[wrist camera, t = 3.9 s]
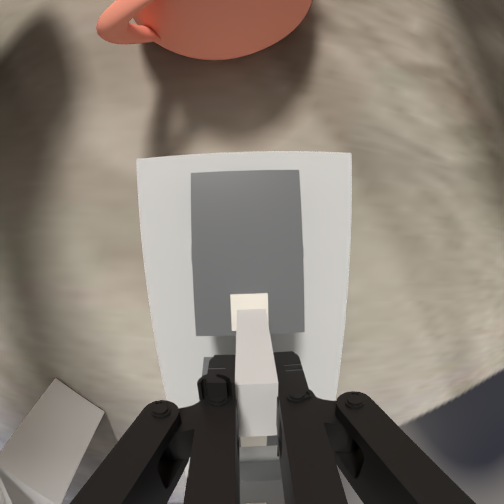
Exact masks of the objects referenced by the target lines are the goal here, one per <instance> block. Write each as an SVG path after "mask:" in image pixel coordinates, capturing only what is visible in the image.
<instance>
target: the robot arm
mask: <svg viewBox="0 0 504 504" xmlns="http://www.w3.org/2000/svg"><path fill="white" fill-rule="evenodd" d="M197 387H198V394H199V402H198V403H196V404H194V405H192V406H188V407H183V408H178V406H177V405H176V404H175V403H173V402H170V401H164V400H160V401H155V402H152V403H150V404H148V405H147V406H146V407H145V408H144V409H143V410H142V412H141V413H140V414H139V416H138V417H137V418H136V420H135V421H134V422H133V423H132V425H131V426H130V427H129V429H128V430H127V431H126V432H125V434H124V435H123V436H122V438H121V439H120V440H119V441H118V443H117V444H116V445H115V447H114V448H113V449H112V450H111V452H110V453H109V454H108V456H107V457H106V458H105V459H104V461H103V462H102V463H101V465H100V466H99V467H98V468H97V470H96V471H95V472H94V474H93V475H92V476H91V477H90V479H89V480H88V481H87V483H86V484H85V485H84V486H83V488H82V489H81V490H80V491H79V493H78V494H77V495H76V497H75V498H74V499H73V500H72V502H71V503H70V504H167V502H168V500H169V498H170V496H171V494H172V493H173V491H174V489H175V487H176V485H177V483H178V481H179V479H180V477H181V475H182V473H183V471H184V469H185V467H186V465H187V464H188V462H189V458H190V463H189V470H188V476H187V483H186V490H185V497H184V504H240V446H239V437H253V436H273V435H277V433H278V446H277V457H278V456H279V460H280V468H281V476H282V484H283V492H284V500H285V504H348V503H347V499H346V496H345V492H344V489H343V486H342V482H341V479H340V476H339V473H338V469H337V466H338V467H339V469H340V470H341V472H342V473H343V474H344V476H345V477H346V479H347V480H348V482H349V483H350V485H351V486H352V488H353V489H354V490H355V492H356V493H357V495H358V496H359V497H360V499H361V500H362V502H363V503H364V504H476V503H475V502H474V501H473V500H472V499H470V498H469V496H467V495H466V494H465V493H464V492H463V491H462V490H461V489H460V488H459V487H458V486H457V485H456V484H455V483H454V482H453V481H452V480H451V479H450V478H449V477H448V476H447V475H446V474H445V473H444V472H443V471H442V470H441V469H440V468H439V467H438V466H437V465H436V464H435V463H434V462H433V461H432V460H431V459H430V458H429V457H428V456H427V455H426V454H425V453H424V452H423V451H422V450H421V449H420V448H419V447H418V446H417V445H416V444H415V443H414V442H413V441H412V440H411V439H410V438H409V437H408V436H407V435H406V434H405V433H404V432H403V431H402V430H401V429H400V428H399V427H398V426H397V425H396V424H395V423H394V422H393V421H392V419H391V418H390V417H389V416H388V415H387V414H386V413H385V412H384V411H383V410H382V409H381V408H380V407H379V406H378V405H377V404H376V403H375V402H374V401H373V400H372V399H371V398H370V397H369V396H367V395H366V394H364V393H361V392H353V391H352V392H346V393H344V394H342V395H340V396H339V397H338V398H337V401H331V400H324V399H320V398H318V397H316V396H315V394H314V393H313V391H311V390H310V389H309V388H308V384H307V381H306V378H305V374H304V371H303V368H302V365H301V361H300V358H299V356H298V355H297V354H296V353H294V352H293V351H287V352H273V349H272V343H271V337H270V331H269V325H268V320H267V314H266V309H247V310H237V327H236V355H214V356H213V357H212V358H211V360H210V361H209V365H208V372H207V374H206V375H203V376H202V377H201V378H199V380H198V382H197ZM336 464H337V465H336Z"/></svg>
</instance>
